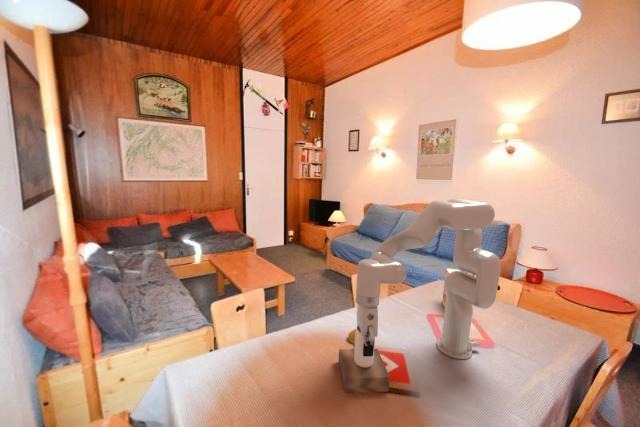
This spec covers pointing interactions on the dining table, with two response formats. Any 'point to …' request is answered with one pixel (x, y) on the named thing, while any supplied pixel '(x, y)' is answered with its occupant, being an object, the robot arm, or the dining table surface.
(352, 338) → the bread roll
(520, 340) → the dining table surface
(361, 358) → the can
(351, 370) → the block
